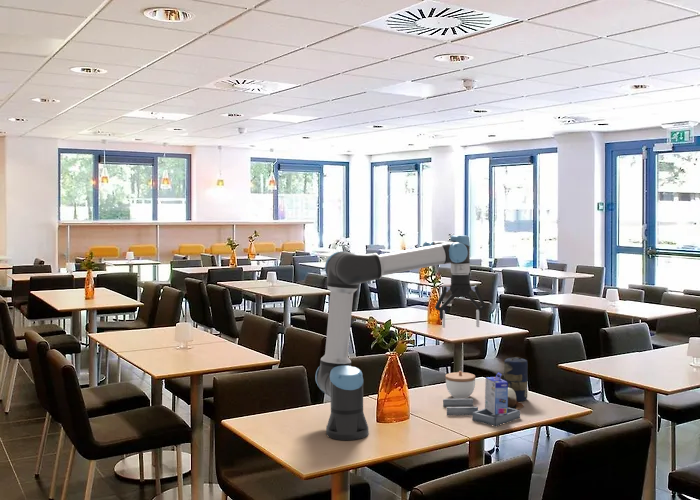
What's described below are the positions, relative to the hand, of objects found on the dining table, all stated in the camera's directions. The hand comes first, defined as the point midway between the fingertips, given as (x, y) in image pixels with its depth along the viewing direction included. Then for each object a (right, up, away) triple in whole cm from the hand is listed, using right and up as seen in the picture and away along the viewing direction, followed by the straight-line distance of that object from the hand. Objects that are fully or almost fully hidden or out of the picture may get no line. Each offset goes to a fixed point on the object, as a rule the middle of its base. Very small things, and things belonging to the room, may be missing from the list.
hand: (460, 327), depth 278 cm
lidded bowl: (+3, -32, +19) cm, 37 cm away
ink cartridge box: (+11, -31, -15) cm, 36 cm away
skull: (+20, -33, +3) cm, 38 cm away
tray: (+11, -33, -14) cm, 38 cm away
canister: (+25, -32, +13) cm, 42 cm away
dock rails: (-1, -33, -2) cm, 33 cm away
